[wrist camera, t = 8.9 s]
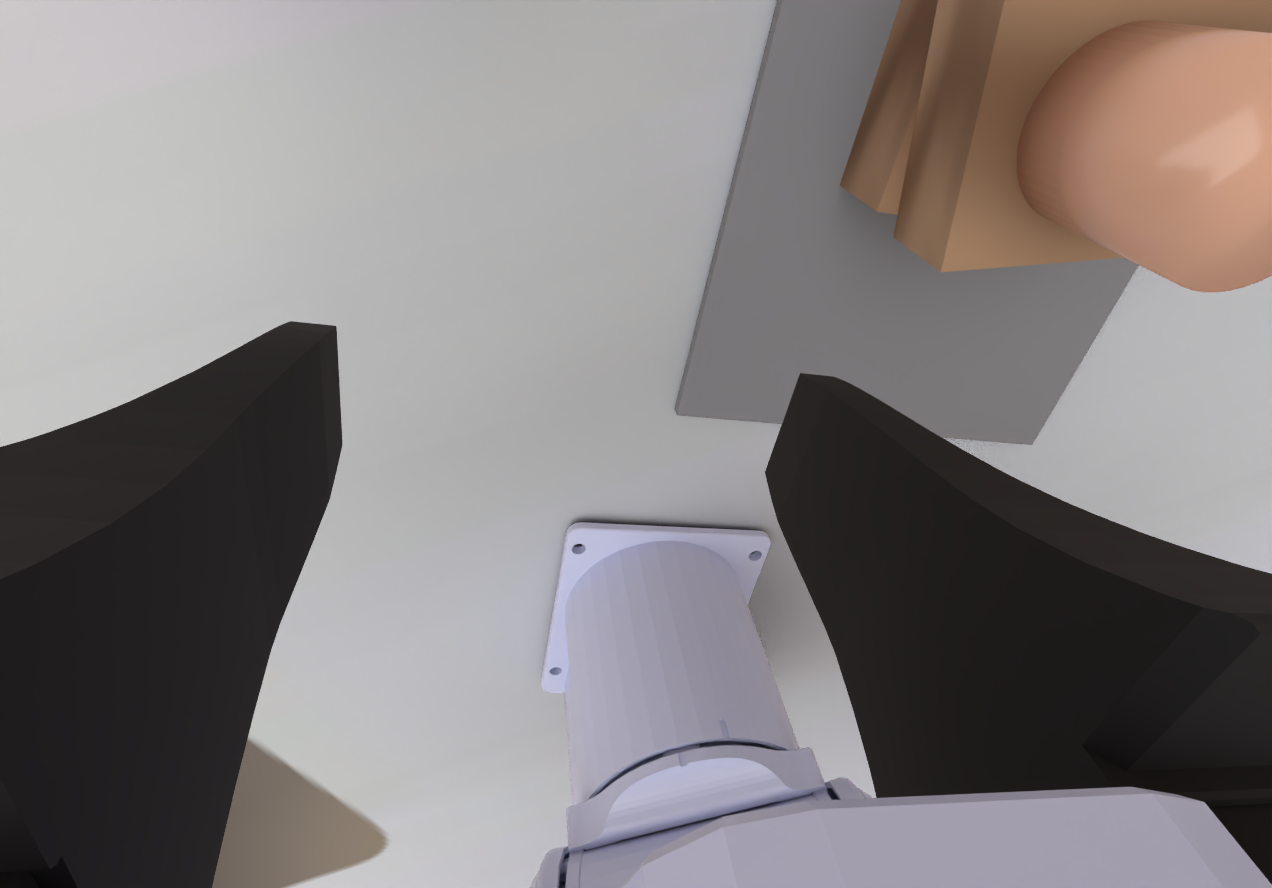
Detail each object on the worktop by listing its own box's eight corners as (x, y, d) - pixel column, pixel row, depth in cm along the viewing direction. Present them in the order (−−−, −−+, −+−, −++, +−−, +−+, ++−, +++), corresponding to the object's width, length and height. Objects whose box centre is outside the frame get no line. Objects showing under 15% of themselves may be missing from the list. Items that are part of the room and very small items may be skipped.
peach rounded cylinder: (1139, 230, 16) (1293, 299, 13) (986, 216, 16) (1110, 285, 12) (1241, 34, 14) (1456, 58, 11) (1070, 6, 14) (1247, 24, 10)
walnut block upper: (1105, 221, 19) (1176, 253, 17) (893, 237, 18) (940, 272, 16) (1203, -52, 16) (1306, -52, 14) (946, -43, 15) (1014, -42, 13)
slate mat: (1025, 438, 27) (1032, 444, 27) (674, 408, 24) (677, 415, 24) (1321, -68, 18) (1336, -69, 18) (832, -218, 15) (839, -222, 15)
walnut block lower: (1020, 215, 21) (1073, 243, 19) (839, 185, 20) (876, 211, 18) (1132, -19, 18) (1211, -15, 16) (925, -74, 17) (982, -77, 15)
